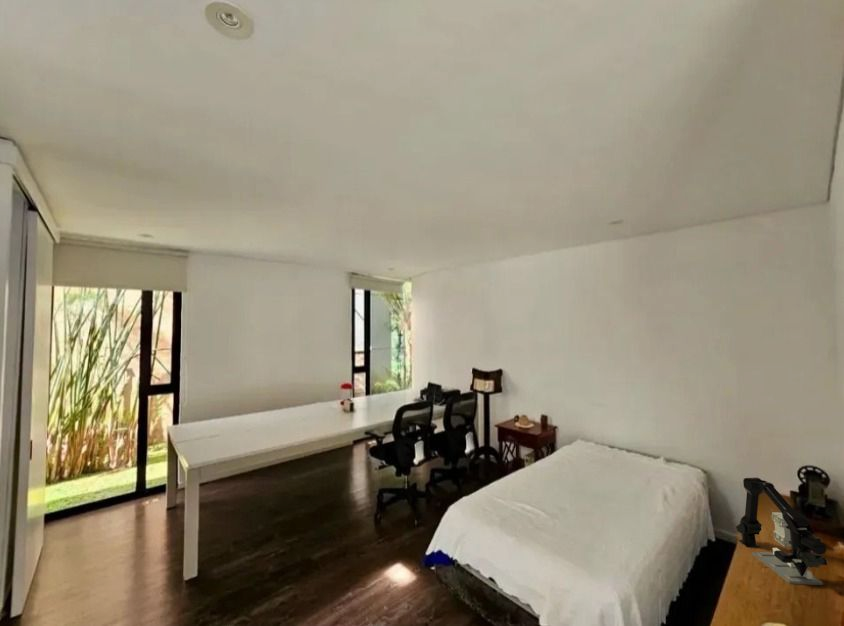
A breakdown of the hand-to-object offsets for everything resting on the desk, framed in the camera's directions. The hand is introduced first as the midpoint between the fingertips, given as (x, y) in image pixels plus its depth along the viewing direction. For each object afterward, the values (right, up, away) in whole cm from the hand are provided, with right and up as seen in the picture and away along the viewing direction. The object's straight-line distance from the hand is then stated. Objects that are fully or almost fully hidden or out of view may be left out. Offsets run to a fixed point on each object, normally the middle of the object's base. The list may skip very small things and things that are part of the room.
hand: (801, 575), depth 179 cm
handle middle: (+4, -1, +9) cm, 9 cm away
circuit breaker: (+26, -3, +29) cm, 39 cm away
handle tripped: (+2, 0, 0) cm, 3 cm away
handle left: (+5, -2, +17) cm, 18 cm away
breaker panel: (+1, -3, +9) cm, 9 cm away
